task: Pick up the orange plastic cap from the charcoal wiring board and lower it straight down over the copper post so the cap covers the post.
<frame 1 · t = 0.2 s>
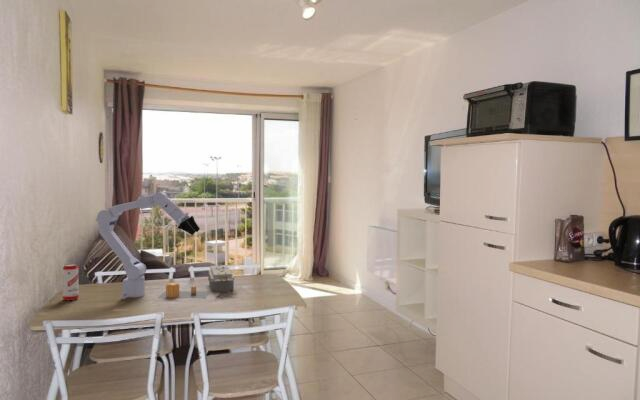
hand: (196, 232, 209), 31 cm above the table, tool tilted 45°, fingers open, 7 cm apart
gray toolbox: (220, 288, 229), on the table
cap: (172, 295, 209), point 1 cm above the table, touching wiring board
wiring board: (184, 296, 211), on the table
beer can: (70, 300, 204), on the table
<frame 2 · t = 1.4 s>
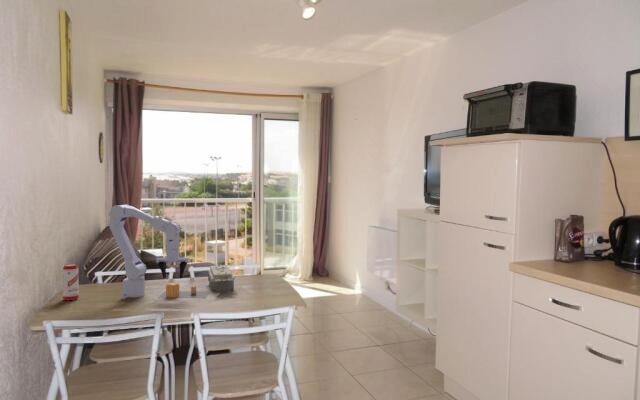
hand: (172, 277, 209), 9 cm above the table, tool pointing down, fingers open, 7 cm apart
nothing on the table moved.
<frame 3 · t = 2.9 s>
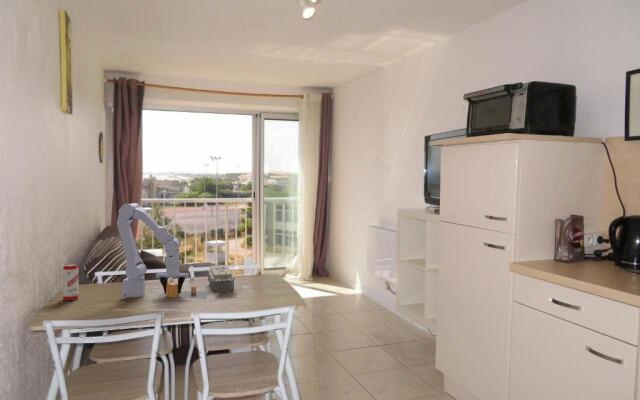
hand: (172, 293, 209), 2 cm above the table, tool pointing down, fingers closed on cap, 6 cm apart
cap: (172, 295, 209), point 1 cm above the table, touching gripper, wiring board
everything else where it was.
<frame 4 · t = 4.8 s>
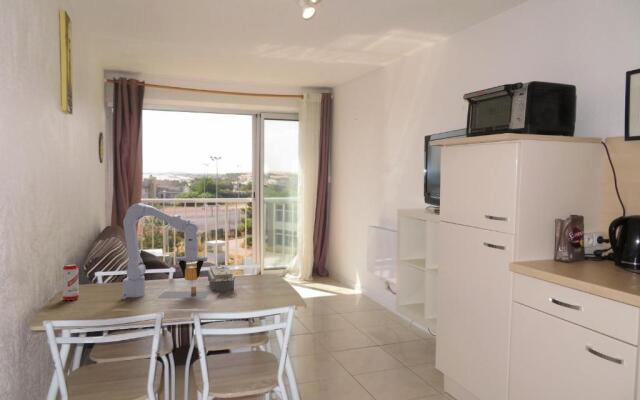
hand: (191, 276, 212), 10 cm above the table, tool pointing down, fingers closed on cap, 6 cm apart
cap: (191, 279, 212), point 8 cm above the table, touching gripper
everything else where it was.
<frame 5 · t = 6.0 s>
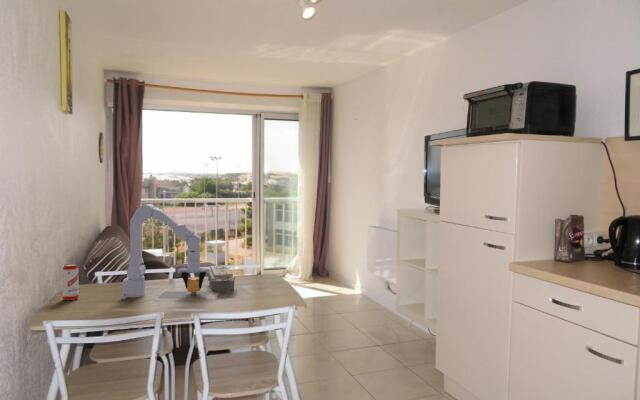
hand: (193, 288, 213), 4 cm above the table, tool pointing down, fingers closed on cap, 6 cm apart
cap: (193, 290, 213), point 3 cm above the table, touching gripper
everything else where it was.
when the fingers open (3 cm above the table, at t = 6.7 s): cap drops 1 cm, resting on wiring board.
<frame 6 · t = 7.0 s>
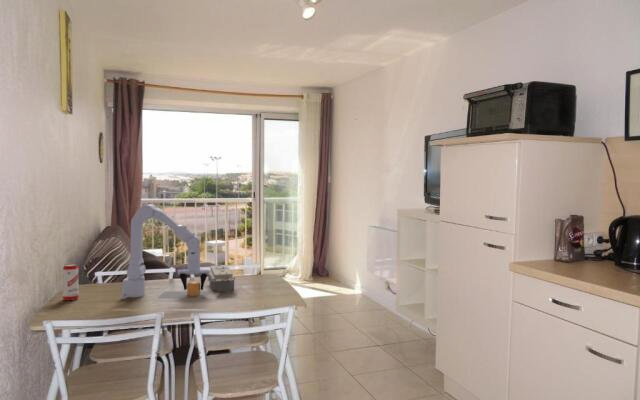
hand: (193, 289, 213), 3 cm above the table, tool pointing down, fingers open, 7 cm apart
cap: (193, 294, 213), point 1 cm above the table, touching wiring board
everything else where it was.
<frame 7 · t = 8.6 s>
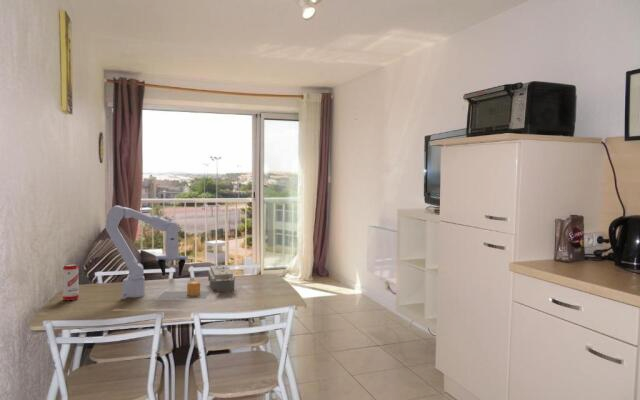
hand: (171, 275, 215), 9 cm above the table, tool pointing down, fingers open, 7 cm apart
nothing on the table moved.
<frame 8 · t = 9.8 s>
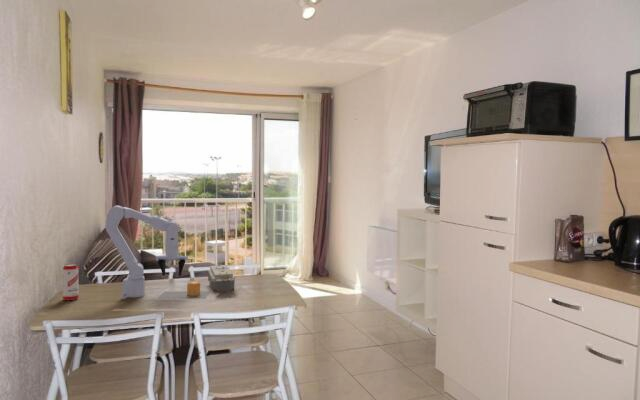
hand: (171, 275, 215), 9 cm above the table, tool pointing down, fingers open, 7 cm apart
nothing on the table moved.
at the end: cap 0.0 cm from the target spot on the wiring board, point 1.0 cm above the wiring board's base; cap tilted 0°; the gripper is holding nothing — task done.
